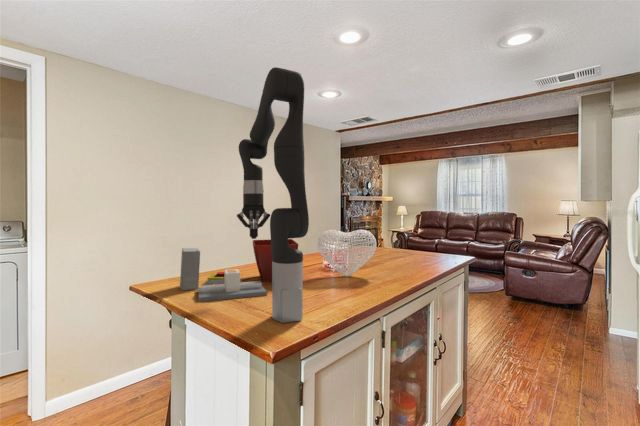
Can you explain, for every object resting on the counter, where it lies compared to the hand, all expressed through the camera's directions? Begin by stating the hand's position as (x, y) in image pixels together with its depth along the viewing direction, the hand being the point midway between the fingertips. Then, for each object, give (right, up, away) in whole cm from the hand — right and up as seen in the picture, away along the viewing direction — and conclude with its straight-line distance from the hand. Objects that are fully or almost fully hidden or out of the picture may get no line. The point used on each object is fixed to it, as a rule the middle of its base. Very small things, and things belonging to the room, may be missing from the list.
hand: (253, 238), depth 124 cm
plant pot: (+4, -21, +26) cm, 33 cm away
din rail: (-8, -20, +1) cm, 21 cm away
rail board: (-8, -21, +1) cm, 23 cm away
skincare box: (-28, -21, +8) cm, 35 cm away
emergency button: (-17, -21, +19) cm, 33 cm away
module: (-8, -20, +1) cm, 21 cm away
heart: (+38, -21, +31) cm, 53 cm away
